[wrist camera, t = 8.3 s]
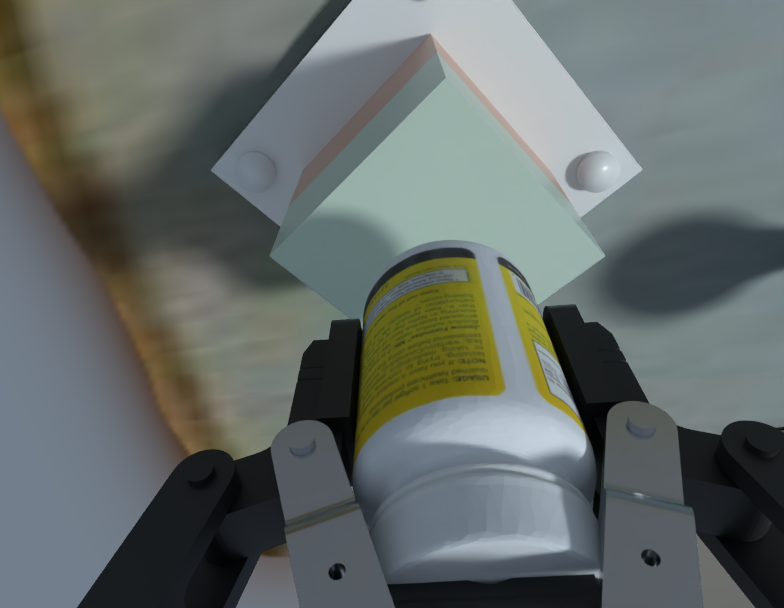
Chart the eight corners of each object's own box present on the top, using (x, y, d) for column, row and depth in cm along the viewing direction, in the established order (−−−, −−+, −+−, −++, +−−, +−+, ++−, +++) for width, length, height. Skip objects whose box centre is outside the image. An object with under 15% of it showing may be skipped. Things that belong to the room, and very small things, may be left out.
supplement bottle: (342, 345, 16) (305, 650, 9) (399, 210, 14) (403, 492, 7) (486, 386, 17) (547, 692, 10) (563, 268, 15) (713, 567, 8)
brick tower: (633, 160, 26) (732, 256, 18) (419, 327, 31) (427, 453, 24) (433, -98, 20) (455, -116, 13) (217, 161, 26) (143, 256, 18)
